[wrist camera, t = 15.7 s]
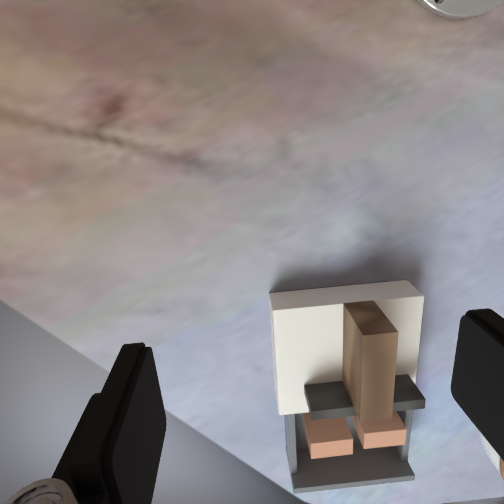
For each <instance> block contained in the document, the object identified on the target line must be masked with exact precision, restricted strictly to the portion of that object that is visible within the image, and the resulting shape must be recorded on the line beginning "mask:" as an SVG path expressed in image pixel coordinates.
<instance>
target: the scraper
mask: <svg viewBox="0 0 504 504" xmlns="http://www.w3.org/2000/svg"><path fill="white" fill-rule="evenodd" d="M398 333H399V332H398V331H397V329H396V328H395V327H394V326H393V324H392V323H391V322H390V320H389V319H388V318H387V317H386V315H385V314H384V313H383V312H382V310H381V309H380V308H379V306H378V305H377V304H376V303H375V301H374V300H371V301H361V302H351V303H343V368H342V381H336V382H326V383H316V384H307V385H304V394H305V398H306V401H307V405H308V409H309V412H310V416H311V420H320V419H329V418H339V417H348V416H358V419H359V421H360V422H365V421H375V420H384V419H392V412H395V411H404V410H414V409H423V408H425V400H426V399H425V398H424V396H423V395H422V394H421V392H420V391H419V389H418V388H417V386H416V385H415V383H414V382H413V381H412V379H411V378H410V376H409V375H408V374H403V375H395V372H396V359H397V346H398Z"/></svg>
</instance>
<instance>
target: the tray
mask: <svg viewBox="0 0 504 504" xmlns="http://www.w3.org/2000/svg"><path fill="white" fill-rule="evenodd" d="M412 411H413V410H404V411H397V413H398V415H399V417H400V418H401V420H402V422H403V424H404V425H405V427H406V429H407V431H406V441H405V445H397V446H388V447H378V448H369V449H363V446H362V444H361V441H360V439H359V436H358V434H357V431H356V429H355V426H354V424H353V421H352V419H351V416H348V417H345V419H346V422H347V424H348V427H349V430H350V432H351V435H352V437H353V454H349V455H341V456H333V457H324V458H316V459H311V456H310V452H309V448H308V443H307V439H306V435H305V431H304V427H303V413H296V414H287V415H284V416H285V433H286V451H287V457H288V463H289V469H290V474H291V480H292V486H293V492H294V493H303V492H312V491H321V490H330V489H339V488H348V487H357V486H366V485H375V484H384V483H393V482H402V481H411V480H414V479H415V475H414V473H413V471H412V469H411V467H410V465H409V463H408V451H409V441H410V431H411V421H412Z"/></svg>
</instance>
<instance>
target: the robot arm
mask: <svg viewBox="0 0 504 504" xmlns="http://www.w3.org/2000/svg"><path fill="white" fill-rule="evenodd" d="M417 1H418V2H419V3H420V4H421V5H422V6H424V7H425V8H426V9H427V10H429V11H431V12H432V13H434V14H436V15H438V16H442V17H445V18H449V19H465V18H471V17H476V16H478V15H481V14H484V13H486V12H489V11H491V10H493V9H495V8H496V7H498V6H500V5H502V4H503V3H504V0H436V3H435V0H417ZM451 392H452V395H453V398H454V399H455V401H456V402H457V403H458V405H459V406H460V407H461V408H462V410H463V411H464V412H465V413H466V415H467V416H468V417H469V418H470V420H471V421H472V422H473V423H474V425H475V426H476V427H477V428H478V430H479V431H480V432H481V433H482V435H483V436H484V437H485V438H486V440H487V441H488V442H489V444H490V445H491V446H492V447H493V449H494V450H495V451H496V452H497V454H498V455H499V456H500V457H501V459H502V460H503V461H504V318H502V317H501V316H500V315H498V314H497V313H496V312H494V311H493V310H491V309H477V310H469V311H467V312H466V314H465V316H462V318H461V320H460V326H459V333H458V340H457V347H456V354H455V361H454V368H453V375H452V382H451ZM165 431H166V415H165V410H164V405H163V400H162V396H161V391H160V386H159V381H158V376H157V371H156V366H155V361H154V357H153V352H152V348H151V347H145V344H144V343H143V342H142V343H132V344H124V345H123V346H122V348H121V350H120V352H119V354H118V356H117V359H116V361H115V363H114V365H113V367H112V369H111V372H110V374H109V376H108V379H107V380H106V383H105V385H104V387H103V389H102V391H101V393H95V394H94V395H93V396H92V397H91V399H90V400H89V402H88V404H87V406H86V408H85V410H84V412H83V414H82V416H81V418H80V421H79V422H78V425H77V427H76V429H75V431H74V433H73V435H72V437H71V439H70V441H69V443H68V445H67V447H66V449H65V451H64V453H63V455H62V458H61V459H60V461H59V463H58V465H57V467H56V470H55V472H54V474H53V476H52V478H48V479H47V478H46V479H43V480H39V481H36V482H33V483H31V484H30V485H27V486H26V487H24V488H22V489H21V490H19V491H18V492H17V493H15V494H14V495H13V496H11V497H10V498H9V499H8V500H7V501H6V503H4V504H151V502H152V497H153V492H154V487H155V482H156V477H157V472H158V466H159V462H160V457H161V452H162V447H163V442H164V437H165ZM444 504H504V497H499V498H490V499H480V500H471V501H462V502H453V503H444Z"/></svg>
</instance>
